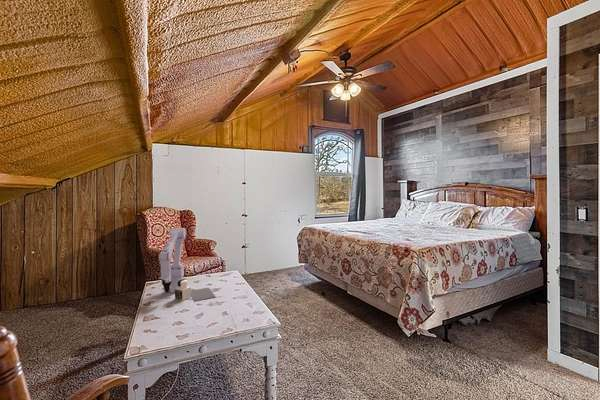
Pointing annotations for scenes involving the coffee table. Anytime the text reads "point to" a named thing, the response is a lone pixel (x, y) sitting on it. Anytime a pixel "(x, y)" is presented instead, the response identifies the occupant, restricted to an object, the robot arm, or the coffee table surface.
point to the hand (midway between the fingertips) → (166, 290)
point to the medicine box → (182, 290)
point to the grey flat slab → (202, 294)
